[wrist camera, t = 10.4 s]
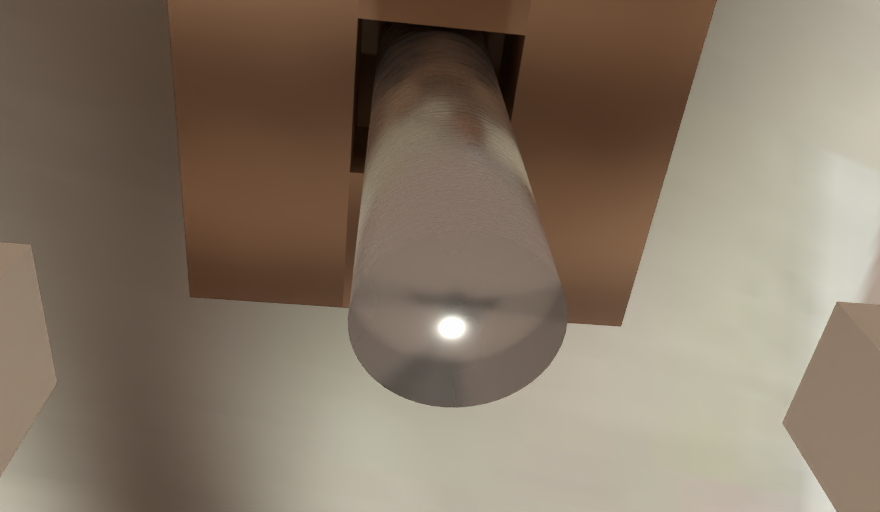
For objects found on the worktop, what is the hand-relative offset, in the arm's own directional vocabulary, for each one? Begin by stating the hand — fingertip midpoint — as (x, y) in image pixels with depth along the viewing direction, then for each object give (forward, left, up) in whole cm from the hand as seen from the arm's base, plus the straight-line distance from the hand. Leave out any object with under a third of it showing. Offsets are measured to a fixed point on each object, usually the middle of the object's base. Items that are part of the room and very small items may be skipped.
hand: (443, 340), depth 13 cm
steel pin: (+1, 0, -13) cm, 13 cm away
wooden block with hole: (0, 0, -15) cm, 15 cm away
